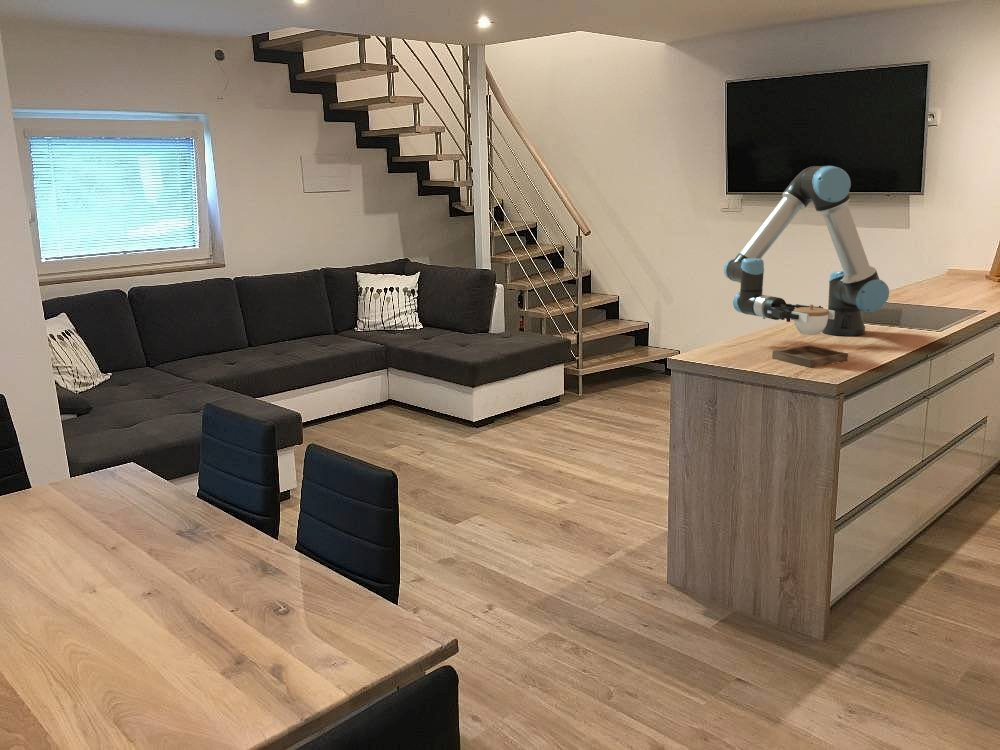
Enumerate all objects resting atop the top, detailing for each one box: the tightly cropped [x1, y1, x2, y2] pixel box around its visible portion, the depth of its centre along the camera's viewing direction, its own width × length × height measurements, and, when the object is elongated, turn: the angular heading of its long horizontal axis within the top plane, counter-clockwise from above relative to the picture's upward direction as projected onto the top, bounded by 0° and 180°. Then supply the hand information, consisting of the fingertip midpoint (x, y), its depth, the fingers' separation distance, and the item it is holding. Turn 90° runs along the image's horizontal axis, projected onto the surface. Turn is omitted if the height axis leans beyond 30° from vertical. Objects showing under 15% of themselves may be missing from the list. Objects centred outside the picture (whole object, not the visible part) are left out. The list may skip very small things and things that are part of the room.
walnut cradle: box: [772, 344, 849, 368], centre depth 285 cm, size 16×16×2 cm
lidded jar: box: [793, 304, 829, 336], centre depth 282 cm, size 11×11×9 cm
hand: (820, 316), depth 278 cm, fingers closed on lidded jar, 11 cm apart
